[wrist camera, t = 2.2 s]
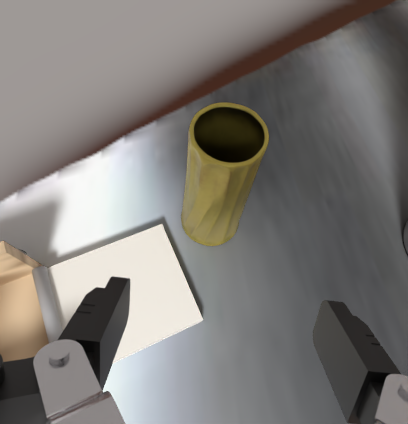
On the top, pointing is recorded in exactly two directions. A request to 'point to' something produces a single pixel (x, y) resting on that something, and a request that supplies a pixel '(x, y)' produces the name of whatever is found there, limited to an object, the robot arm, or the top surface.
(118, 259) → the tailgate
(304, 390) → the top surface
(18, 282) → the truck bed
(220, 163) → the vase
